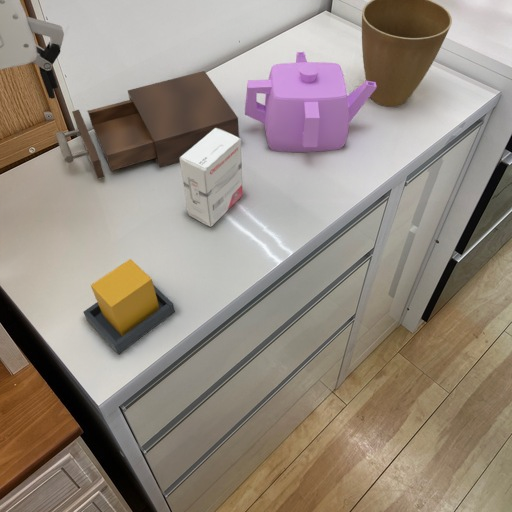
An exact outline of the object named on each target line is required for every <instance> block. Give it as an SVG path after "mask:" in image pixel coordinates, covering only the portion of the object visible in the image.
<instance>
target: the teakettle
mask: <svg viewBox="0 0 512 512" xmlns="http://www.w3.org/2000/svg"><path fill="white" fill-rule="evenodd" d="M376 87H377V86H376V82H371V81H366V80H365V81H364V82H363V83H362V84H361V85H359V86H358V87H357V88H356V89H354V90H353V91H352V92H351V93H349V94H348V91H347V85H346V81H345V76H344V72H343V69H342V66H341V64H339V63H336V62H325V61H324V62H323V61H319V62H317V61H308V60H307V57H306V52H305V51H296V54H295V62H284V63H277V64H273V65H272V66H271V68H270V72H269V76H268V79H250V80H247V84H246V93H245V95H246V96H245V105H244V115H245V116H247V117H249V118H250V119H253V120H255V121H258V122H260V123H262V124H264V129H265V136H266V141H267V144H268V146H269V148H270V150H272V151H275V152H276V151H277V152H287V153H288V152H289V153H316V152H318V153H319V152H326V151H327V152H328V151H336V150H340V149H342V148H343V147H344V146H345V144H346V142H347V139H348V136H349V126H350V123H351V121H352V120H353V119H354V117H355V116H356V115H357V114H358V113H359V111H360V110H361V109H362V108H363V106H364V105H365V103H366V102H367V101H368V100H369V98H370V96H371V94H372V93H373V92H374V90H375V89H376ZM257 94H263V95H264V94H265V97H264V104H263V103H260V102H258V101H257V100H258V99H257Z"/></svg>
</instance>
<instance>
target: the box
mask: <svg viewBox="0 0 512 512" xmlns="http://www.w3.org/2000/svg"><path fill="white" fill-rule="evenodd" d="M153 282H154V281H153V279H152V278H151V276H150V275H149V274H147V273H146V272H145V270H143V269H142V268H141V267H140V266H139V265H138V264H137V263H136V262H135V261H133V259H132V258H129V259H128V260H126V261H125V262H123V263H122V264H120V265H119V266H117V267H116V268H114V269H113V270H111V271H110V272H108V273H106V274H105V275H104V276H102V277H100V278H99V279H97V280H96V281H95V282H93V283H92V284H90V288H91V290H92V292H93V293H92V294H93V295H94V297H95V300H96V303H97V302H98V304H99V307H100V309H101V312H102V314H103V316H104V317H105V318H106V320H107V321H108V322H109V323H110V324H111V325H112V326H113V327H114V328H115V329H116V330H117V331H118V332H119V333H120V335H121V336H124V335H125V334H126V333H128V332H129V331H130V330H132V329H133V328H135V327H136V326H137V325H139V324H140V323H141V322H143V321H144V320H145V319H147V318H148V317H149V316H151V315H152V314H154V313H155V312H156V311H158V310H159V309H160V308H159V305H158V301H157V297H156V293H155V290H154V286H155V285H154V283H153ZM153 285H154V286H153Z"/></svg>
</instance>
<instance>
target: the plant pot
mask: <svg viewBox="0 0 512 512" xmlns="http://www.w3.org/2000/svg"><path fill="white" fill-rule="evenodd" d="M361 11H362V12H361V48H362V49H361V51H362V63H363V68H364V69H363V70H364V76H365V81H371V82H376V86H377V87H376V89H375V90H374V92H373V93H372V94H371V96H370V97H369V98H370V99H371V100H372V101H373V102H374V103H375V104H377V105H379V106H382V107H388V108H395V107H399V106H402V105H404V104H405V103H407V102H408V100H409V99H410V98H411V96H412V95H413V94H414V92H415V91H416V90H417V88H418V87H419V85H420V84H421V83H422V81H423V80H424V78H425V76H426V75H427V73H428V72H429V70H430V68H431V66H432V65H433V63H434V61H435V60H436V58H437V56H438V54H439V51H440V50H441V48H442V46H443V44H444V41H445V39H446V37H447V35H448V33H449V31H450V28H451V26H452V23H453V18H452V15H451V13H450V12H449V10H447V8H445V7H444V6H442V5H441V4H439V3H437V2H436V1H434V0H370V1H368V2H367V3H365V5H364V6H363V7H362V10H361Z"/></svg>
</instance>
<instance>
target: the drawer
mask: <svg viewBox="0 0 512 512" xmlns="http://www.w3.org/2000/svg"><path fill="white" fill-rule="evenodd" d="M71 113H72V115H73V118H74V122H75V125H76V129H75V130H70V131H67V132H64V131H57V132H56V134H55V137H56V140H57V143H58V146H59V149H60V152H61V155H62V158H63V160H64V162H65V163H67V164H70V163H72V162H73V161H74V160H75V159H78V158H81V157H85V156H88V158H89V161H90V163H91V166H92V168H93V171H94V173H95V176H96V179H97V180H100V179H104V178H106V176H105V171H104V169H103V166H102V163H101V159H100V156H99V154H98V152H97V150H96V147H95V145H94V142H93V140H92V137H91V135H90V133H89V131H88V128H87V126H86V123H85V120H84V118H83V116H82V113H81V111H80V109H75V110H73V111H72V112H71ZM87 113H88V117H89V121H90V124H91V126H92V129H93V131H94V134H95V136H96V138H97V141H98V143H99V146H100V149H101V150H102V153H103V155H104V158H105V159H106V162H107V164H108V167H109V169H110V171H115V170H118V169H123V168H125V167H128V166H133V165H135V164H139V163H142V162H145V161H150V160H153V159H155V158H156V157H157V156H156V151H155V145H154V142H153V140H152V138H151V136H150V134H149V132H148V130H147V128H146V126H145V125H144V123H143V121H142V119H141V117H140V115H139V113H138V111H137V110H136V108H135V106H134V104H133V102H132V100H130V99H127V100H123V101H119V102H117V103H112V104H109V105H104V106H101V107H97V108H93V109H89V110H87ZM76 135H79V136H80V138H81V141H82V143H83V146H84V150H82V151H78V152H74V153H72V151H71V148H70V146H69V142H68V140H67V138H70V137H73V136H76Z"/></svg>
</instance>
